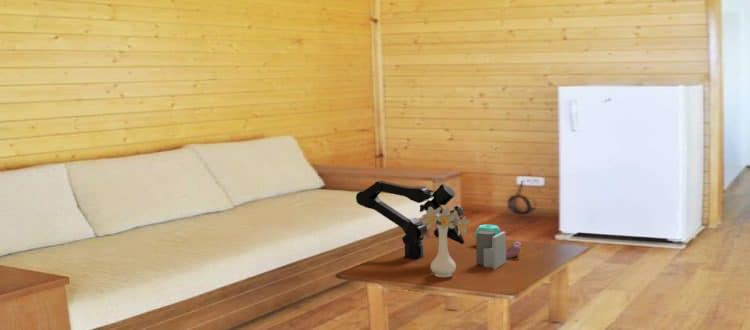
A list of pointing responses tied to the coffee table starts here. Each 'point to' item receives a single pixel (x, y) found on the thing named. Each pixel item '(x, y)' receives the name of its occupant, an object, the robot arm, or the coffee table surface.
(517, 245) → the video game controller
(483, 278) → the coffee table surface
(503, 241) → the arched bridge stand
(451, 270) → the flower vase
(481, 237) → the plug
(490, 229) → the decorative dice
